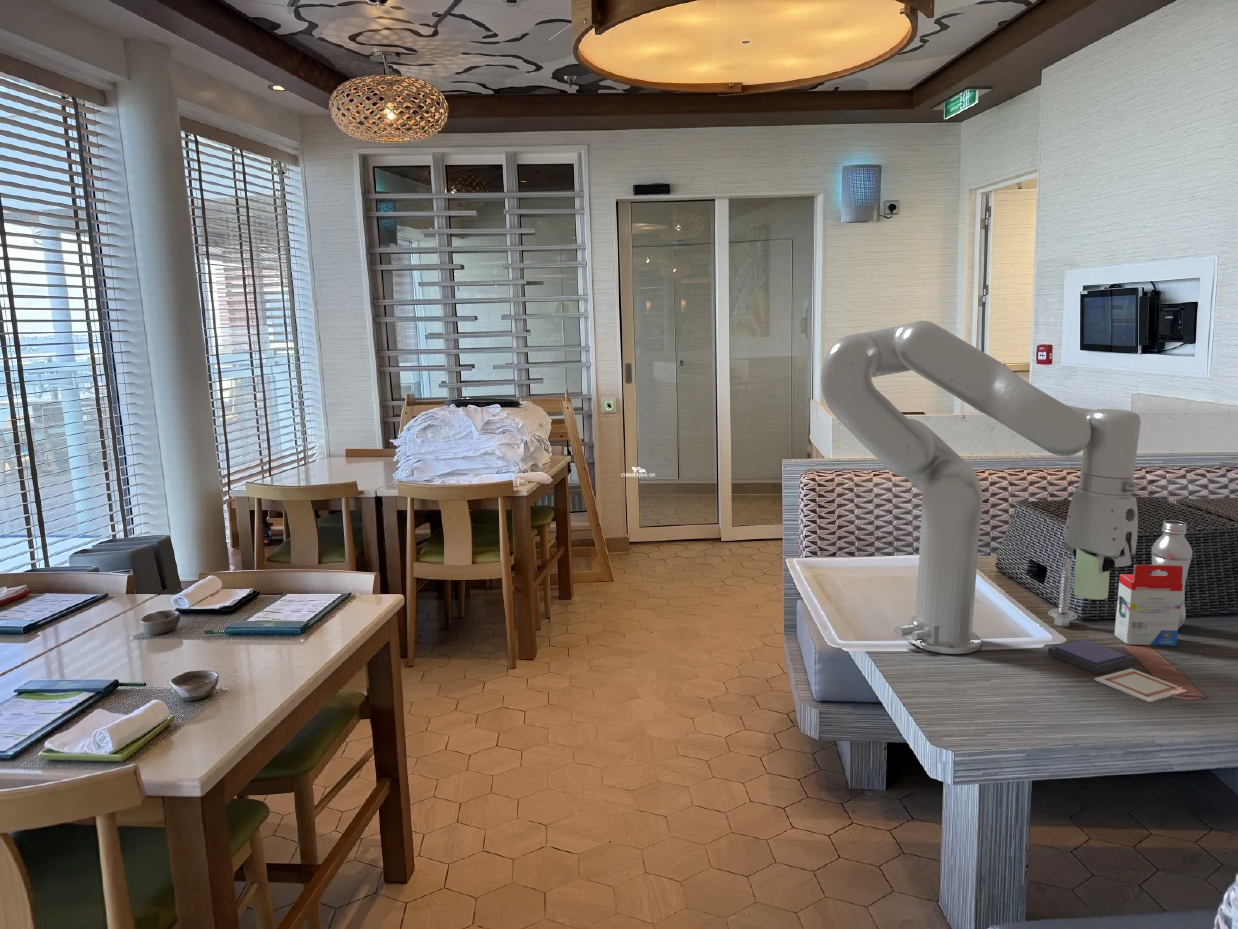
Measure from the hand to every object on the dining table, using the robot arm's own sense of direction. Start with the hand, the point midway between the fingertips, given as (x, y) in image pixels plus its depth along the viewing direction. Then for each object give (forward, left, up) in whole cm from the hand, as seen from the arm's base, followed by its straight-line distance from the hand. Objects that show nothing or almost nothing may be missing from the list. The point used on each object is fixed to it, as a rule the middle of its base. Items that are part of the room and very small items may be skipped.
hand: (1091, 592), depth 142 cm
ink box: (+17, +1, -12) cm, 21 cm away
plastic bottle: (+27, +4, -12) cm, 30 cm away
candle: (0, 0, -1) cm, 1 cm away
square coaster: (-2, -11, -12) cm, 16 cm away
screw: (+11, +13, -12) cm, 21 cm away
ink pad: (0, 0, -12) cm, 12 cm away
